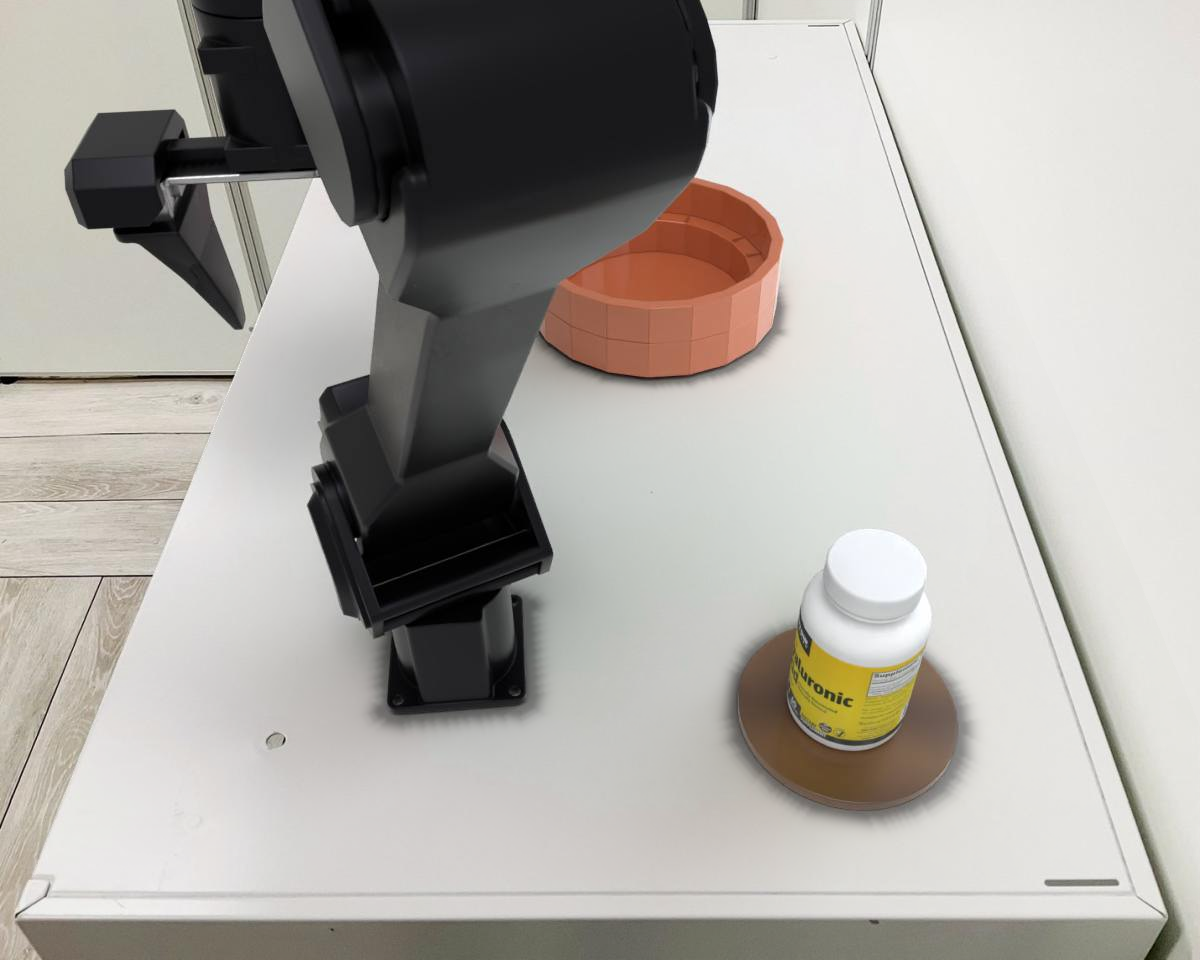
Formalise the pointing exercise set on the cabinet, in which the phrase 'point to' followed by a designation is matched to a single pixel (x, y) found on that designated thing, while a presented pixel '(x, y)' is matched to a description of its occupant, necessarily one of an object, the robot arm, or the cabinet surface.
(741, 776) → the cabinet surface
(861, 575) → the supplement bottle
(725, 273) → the bowl
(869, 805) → the coaster
